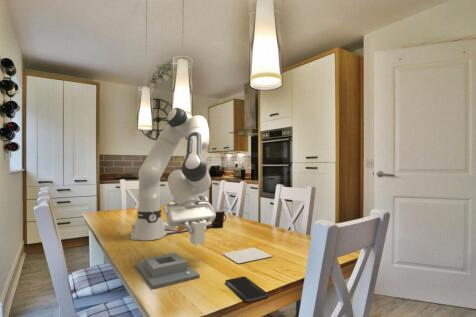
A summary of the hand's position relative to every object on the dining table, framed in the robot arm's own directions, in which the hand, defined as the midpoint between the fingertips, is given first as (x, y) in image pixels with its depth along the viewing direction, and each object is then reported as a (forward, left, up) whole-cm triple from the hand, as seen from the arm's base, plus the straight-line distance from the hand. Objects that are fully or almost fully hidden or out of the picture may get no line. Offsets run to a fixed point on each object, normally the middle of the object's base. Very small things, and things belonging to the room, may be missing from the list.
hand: (198, 231), depth 106 cm
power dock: (-2, -12, -13) cm, 18 cm away
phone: (+26, +4, -13) cm, 30 cm away
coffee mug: (-51, +37, -13) cm, 64 cm away
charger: (-1, 0, -4) cm, 4 cm away
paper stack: (+5, +18, -13) cm, 23 cm away
